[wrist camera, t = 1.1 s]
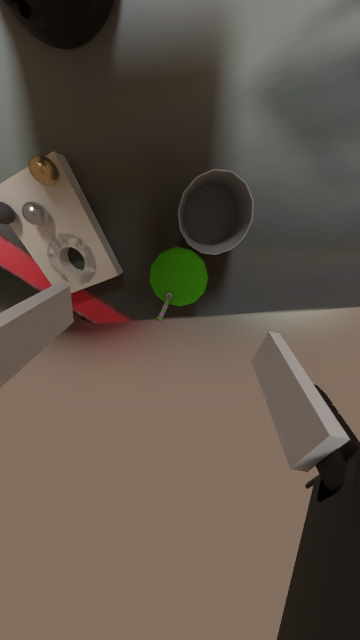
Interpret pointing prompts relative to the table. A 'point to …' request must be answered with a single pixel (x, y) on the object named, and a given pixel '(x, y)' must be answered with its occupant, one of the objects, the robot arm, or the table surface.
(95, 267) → the plate
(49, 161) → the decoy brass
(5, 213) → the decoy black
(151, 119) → the table surface
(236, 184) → the cup
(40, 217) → the steel ball
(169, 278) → the cup
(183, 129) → the table surface
